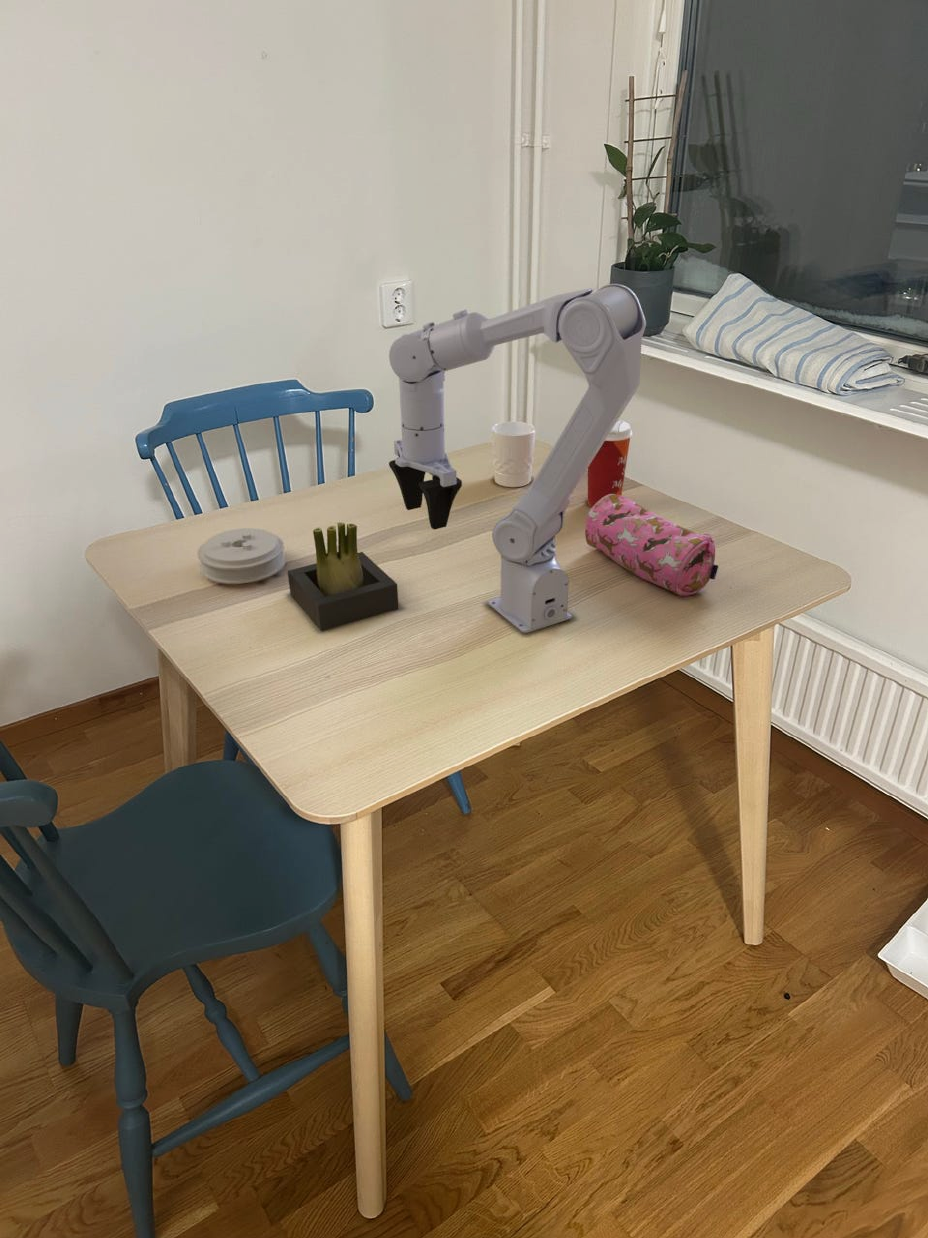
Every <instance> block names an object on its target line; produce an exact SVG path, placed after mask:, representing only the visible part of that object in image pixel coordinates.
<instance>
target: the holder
mask: <svg viewBox="0 0 928 1238" xmlns="http://www.w3.org/2000/svg"><path fill="white" fill-rule="evenodd" d="M358 556H359V560H360V563H361V567H362V572H363V579H364V586H363V587H359V588H356V589H352V590H348V591H345V592H341V593H337V594H333V595H330V596H326V597H325V595H324V594H323V593H322V592H321V591H320V588H319V584H318V579H317V562H316V563H312V564H309V565H304V566H301V567H300V566H299V567H297V568H293V569H288V570H287V579H288V586H289V594H290V597H291V598H292V599H293V600H294V601H295V602H296V603H297V605H298V606H299V607H300V608H301V610H303V612H304V613H305V614H306V616H308V618H309V619H310V620H311V621H312V622H313V623H314V625H315V626H316V627H317V628H318V629H319V630H320V632H323V631H326V630H330V629H333V628H337V627H341V626H344V625H347V624H351V623H354V622H359V621H361V620H365V619H369V618H371V617H375V616H379V615H383V614H385V613H390V612H393V611H396V610H399V593H398V592H399V591H398V583H397V582H396V581H395V580H394V579H392V578H391V577H390V576H389V575H388V574H387V573H386V572H385V571H384V570H383V569H381V568H380V567H379V566H378V565H377V563H375V562H374V561H373V560H372V559H371V558H370V557H368V555H367V554H365V553H364V552H363V551H360V552H358Z"/></svg>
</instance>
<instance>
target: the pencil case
mask: <svg viewBox="0 0 928 1238" xmlns="http://www.w3.org/2000/svg"><path fill="white" fill-rule="evenodd" d="M584 530H585V531H584V535H585V536H584V537H585V542H586V544H587V545H588V546H589V547H591V548H593V549H596V550H599V551H601V552H603V553H604V554H605V555H606V556H608V558H610V559H611V560H612V561H613V562H615V563H616V564H617V565H619V566H620V567H622V568H625V569H626V570H627V571H629V572H631V573H633V575H635V576H637V577H638V578H640V579H643V580H645V581H647V582H650V583H651V584H653V585H656V586H659V587H662V588H663V589H665V590H667V591H670V592H672V593H674V594H676V595H677V596H682V597H683V596H684V597H688V596H691V595H695V594H697V593H699V592H701V591H702V590H703V589H704V588H705V587H706V586H707V584H708V582H709V581H710V580H715V579H716V578H717V574H718V569H719V565H717V564H715V561H716V560H715V559H716V545H715V541H714V540H713V538H712V536H711V534H709V533H703V534H698V533H696V532H694V531H693V530H690V529H688V528H686V527H683V526H680V525H678V524H676V523H674V522H672V521H669V520H668V519H666V518H663V517H661V516H659V515H657V514H656V513H654V512H652V511H650V510H648V509H646V508H645V507H642V505H640V504H639V503H637V502H636V501H634V500H633V499H629V498H627V497H626V496H623V495H621V496H619V495H617V494H609V495H606V496H605V497H603V498H602V499H600V500H599V501H598V502H597V503H596V504H595V505H594V506H593V507H591V508H590V510H589V511H588V512H587V515H586V519H585V529H584Z"/></svg>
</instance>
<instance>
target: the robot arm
mask: <svg viewBox="0 0 928 1238" xmlns="http://www.w3.org/2000/svg"><path fill="white" fill-rule="evenodd" d="M595 289H596V288H595V287H592V288H585V289H580V290H574V291H570V292H565V293H561V294H556V295H553V296H551V297H547V298H546V299H542V300H539V301H536V302H534V303H531V304H528V305H525V306H522V307H520V308H517V309H513V310H511V311H508V312H506V313H503V314H500V315H497V316H495V317H492V318H487V317H486V316H484V315H483V314H481V313H479V312H474V311H473V312H470V313H468V309H463V310H459V311H456V312H455V313H453V314H452V317H453V318H451V319H449V320H446V321H442V322H440V323H437V324H435V321H431V322H428V323H425V324H423V326H422V328H421V329H418V330H415V331H413V332H410V333H407V334H406V333H405V334H402V335H401V336H399V338H397V339H395V340H394V341H393V342H392V344H391V346H390V348H389V352H388V358H389V360H388V361H389V364H390V367H391V369H392V371H393V372H394V374H395V375H396V376H397V378H398V383H399V403H400V404H399V405H400V426H401V427H400V428H401V439H398V440H395V441H393V450H394V455H395V456H397V457H396V458H395V459H393V460H390V461H388V466H389V468H390V470H391V471H392V472H393V474H394V476H395V479H396V481H397V484H398V487H399V489H400V492H401V496H402V500H403V503H404V506H405V509H406V510H407V511H411V510H416V509H421V507H422V505H423V498H424V500H425V504H426V507H427V515H428V522H429V525H430V528H431V529H432V530H439V529H442V528H446V527H447V525H448V521H449V518H450V513H451V510H452V506H453V503H454V500H455V498H456V496H457V494H458V493H459V491H460V489H461V488H462V487H463V480H462V479H460V478H459V477H458V476H457V470H456V469H455V468H454V467H453V466H452V464H451V461H450V460H449V458H448V455H447V453H446V444H445V443H446V442H445V399H444V395H445V393H444V382H445V372H448V371H451V370H455V369H458V368H462V367H465V366H469V365H472V364H475V363H478V362H482V361H486V360H488V359H489V358H490V357H491V355H492V353H493V351H494V349H495V347H496V346H498V345H502V344H506V343H509V342H513V341H517V340H521V339H525V338H528V337H532V336H538V335H541V334H544V335H545V336H546V337H547V338H549V340H550V341H552V342H553V343H555V344H557V343H560V342H561V341H562V342H563V345H564V347H565V348H566V350H567V351H568V353H569V354H570V355H571V357H572V358H573V360H574V362H575V363H576V364H577V366H578V368H579V369H580V370H581V372H582V373H583V374H584V376H585V378H586V382H587V384H588V386H587V389H586V391H585V393H584V395H583V396H582V398H581V399H580V401H579V403H578V405H577V406H576V408H575V410H574V412H573V413H572V415H571V417H570V418H569V420H568V422H567V423H566V425H565V426H564V429H563V430H562V432H561V433H560V435H559V437H558V439H557V441H556V442H555V444H554V445H553V447H552V449H551V451H550V452H549V454H548V456H547V458H546V459H545V460H544V462H543V464H542V466H541V468H540V470H539V471H538V473H537V474H536V476H535V478H534V480H533V481H532V483H531V485H530V487H529V488H528V489H527V490H526V492H525V493H524V494H523V495H522V496H521V497H520V498H519V499H518V501H516V503H515V504H514V506H513V507H512V509H511V511H510V512H509V513H508V514H507V515H505V516H503V517H501V518H499V519H498V520H497V521H496V522H495V523H494V526H493V528H492V532H491V538H492V543H493V546H494V547H495V549H496V551H497V552H498V553H499V554H500V596H499V597H496V598H493V599H490V600H488V601H487V604H488V606H490V607H491V608H492V609H494V610H495V611H496V612H497V613H498V614H499V615H501V616H502V617H503V618H504V619H506V620H507V621H508V622H509V623H510V624H512V625H513V626H514V627H515V628H516V629H518V630H519V631H520V632H521V633H523V634H527V633H531V632H535V631H537V630H539V629H543V628H545V627H549V626H552V625H555V624H558V623H562V622H565V621H568V620H571V619H572V618H573V614H571V613H570V612H569V611H568V602H569V601H568V600H569V587H570V586H569V585H570V584H569V583H570V581H569V577H568V574H567V573H566V571H565V570H564V569H563V568H562V567H561V566H560V564H559V562H558V560H557V556H556V536H557V535H558V534H559V533H560V532H561V531H562V530H563V527H564V525H565V515H566V510H567V508H568V507H569V505H570V503H571V500H570V499H569V498H570V497H571V495H572V493H573V492H574V491H575V489H576V487H577V486H578V484H579V482H580V481H581V479H582V478H583V477H584V474H585V473H586V471H588V467H589V465H590V463H591V462H592V460H593V459H594V457H595V455H596V454H597V452H598V451H599V449H600V448H601V446H602V444H603V443H604V441H605V440H606V438H607V436H608V435H609V433H610V432H611V430H612V429H613V427H614V425H615V424H616V422H617V421H618V420H619V419H620V418H621V416H622V414H623V413H624V411H625V409H626V408H627V406H628V405H629V403H630V402H631V400H632V398H633V397H634V396H635V393H636V392H637V391H638V388H639V385H640V380H641V379H640V378H641V361H642V340H643V337H644V333H645V330H646V326H647V321H646V317H645V315H644V312H643V309H642V306H641V303H640V300H639V298H638V297H637V295H636V293H635V292H634V291H633V290H632V289H631V288H629V287H628V286H626V285H624V284H620V283H610V284H607V285H604V286H602V287H601V288H599V289H598V290H596V291H594V290H595ZM426 473H427V474H429V475H430V476H432V477H431V479H429V480H425V476H426Z"/></svg>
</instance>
